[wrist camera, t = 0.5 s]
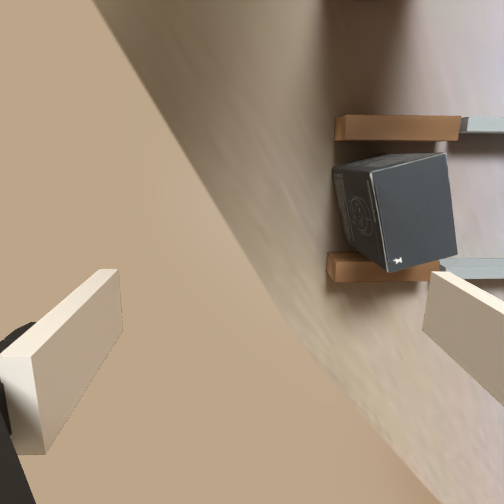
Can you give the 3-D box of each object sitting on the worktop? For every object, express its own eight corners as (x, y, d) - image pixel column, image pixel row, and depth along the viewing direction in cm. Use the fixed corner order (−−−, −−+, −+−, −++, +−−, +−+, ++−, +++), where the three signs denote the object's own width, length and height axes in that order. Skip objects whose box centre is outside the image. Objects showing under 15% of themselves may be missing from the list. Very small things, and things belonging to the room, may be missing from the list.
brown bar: (335, 118, 34) (346, 114, 31) (439, 119, 35) (461, 116, 31) (325, 270, 38) (335, 282, 35) (419, 269, 38) (437, 280, 35)
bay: (449, 119, 35) (469, 116, 32) (559, 121, 35) (588, 118, 32) (428, 269, 38) (444, 279, 36) (528, 268, 39) (551, 278, 36)
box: (398, 228, 37) (460, 256, 27) (344, 242, 37) (386, 275, 27) (386, 151, 35) (449, 150, 25) (329, 166, 35) (369, 171, 25)
